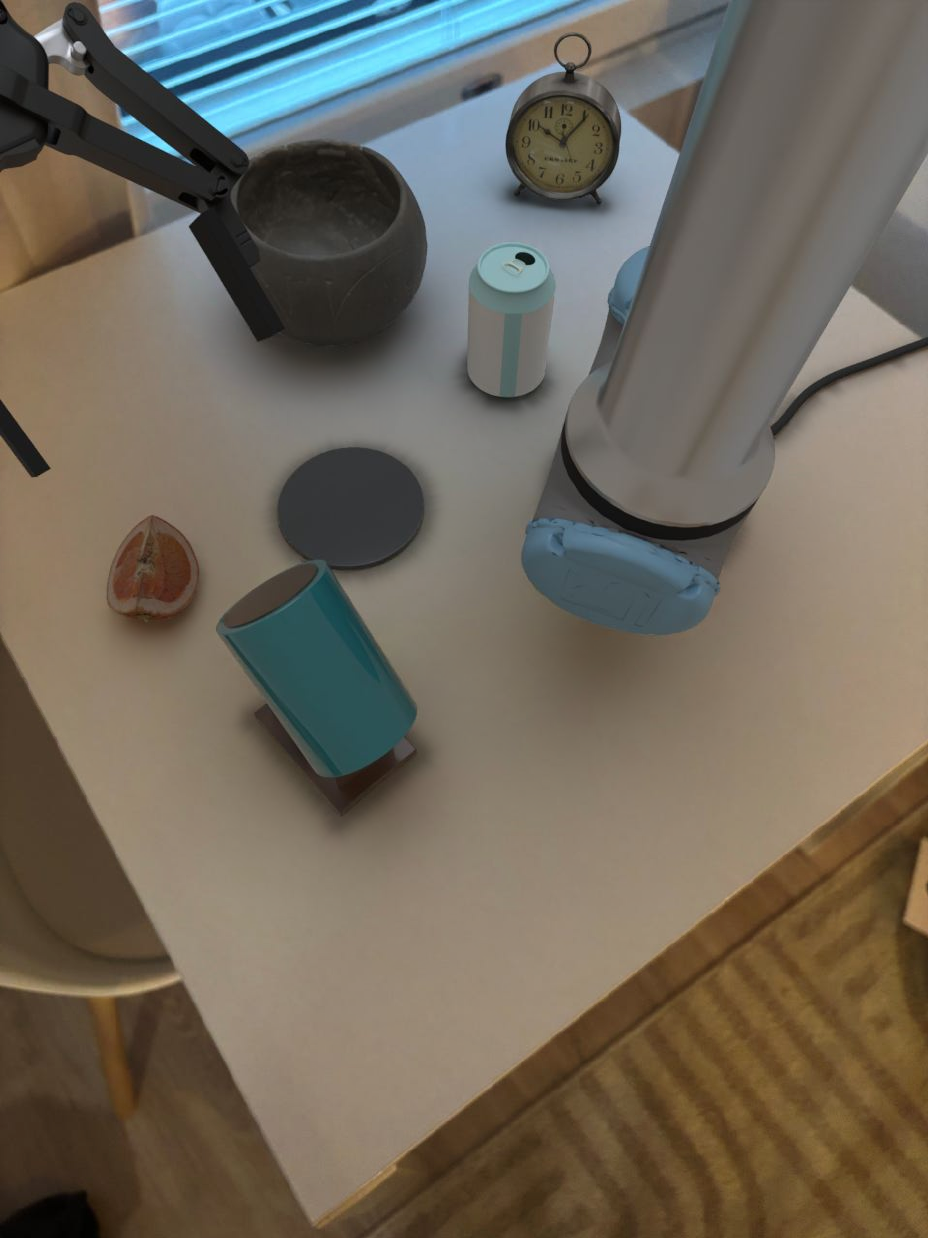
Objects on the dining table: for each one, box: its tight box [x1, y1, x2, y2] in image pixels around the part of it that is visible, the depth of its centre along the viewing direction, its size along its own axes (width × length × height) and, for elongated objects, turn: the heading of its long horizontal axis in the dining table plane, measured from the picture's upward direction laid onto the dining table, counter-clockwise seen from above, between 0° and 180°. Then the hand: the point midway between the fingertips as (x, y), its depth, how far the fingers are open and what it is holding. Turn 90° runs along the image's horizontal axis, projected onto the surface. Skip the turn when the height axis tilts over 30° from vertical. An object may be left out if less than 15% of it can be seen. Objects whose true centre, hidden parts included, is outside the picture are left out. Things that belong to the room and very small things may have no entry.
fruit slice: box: [106, 514, 200, 623], centre depth 72 cm, size 8×7×5 cm
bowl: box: [231, 138, 428, 347], centre depth 83 cm, size 18×18×13 cm
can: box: [466, 241, 557, 398], centre depth 80 cm, size 7×7×12 cm
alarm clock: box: [504, 31, 622, 206], centre depth 90 cm, size 11×5×16 cm, turn 80°
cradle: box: [253, 702, 417, 817], centre depth 64 cm, size 10×7×11 cm
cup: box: [215, 559, 418, 777], centre depth 58 cm, size 13×8×13 cm, turn 42°
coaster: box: [276, 446, 425, 571], centre depth 78 cm, size 12×12×1 cm
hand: (162, 401), depth 47 cm, fingers open, 13 cm apart
